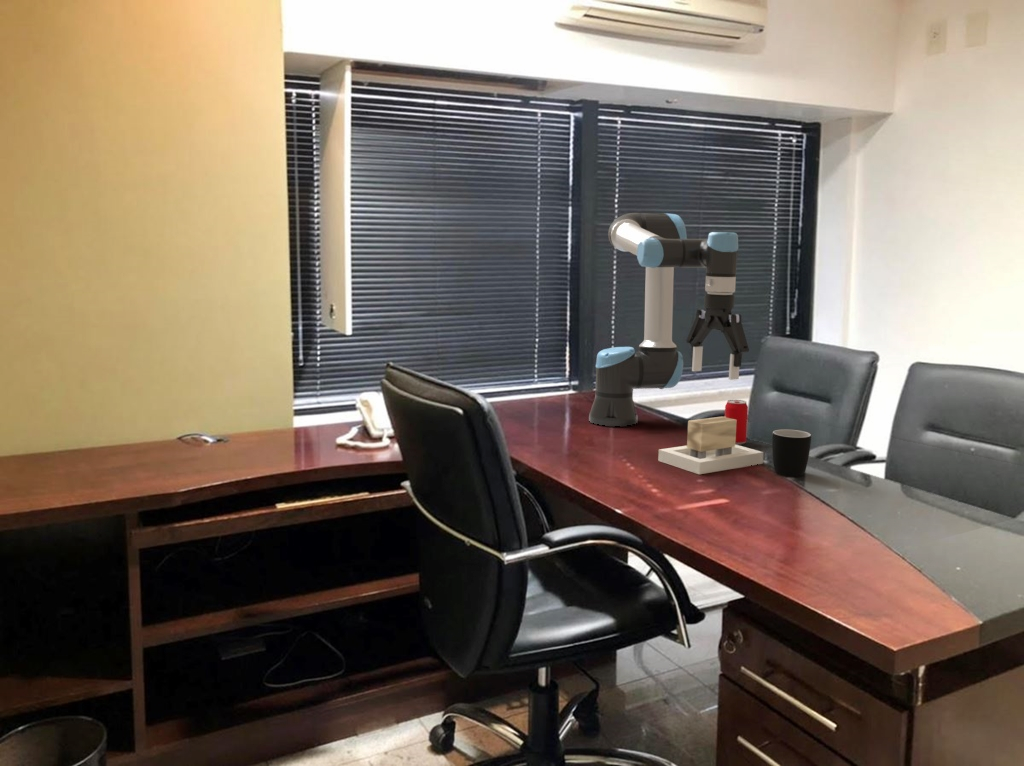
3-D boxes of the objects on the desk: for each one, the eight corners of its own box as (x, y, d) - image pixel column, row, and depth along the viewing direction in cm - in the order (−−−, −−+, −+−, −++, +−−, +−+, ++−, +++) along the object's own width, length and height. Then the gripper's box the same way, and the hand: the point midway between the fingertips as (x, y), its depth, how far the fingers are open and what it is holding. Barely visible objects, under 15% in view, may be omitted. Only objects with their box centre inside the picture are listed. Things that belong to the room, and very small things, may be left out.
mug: (815, 477, 206) (818, 436, 204) (780, 479, 204) (783, 437, 203) (791, 465, 217) (794, 426, 216) (758, 466, 216) (760, 427, 214)
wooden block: (686, 447, 218) (688, 420, 216) (720, 442, 224) (722, 416, 223) (700, 451, 213) (702, 424, 212) (735, 446, 220) (736, 419, 218)
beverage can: (744, 440, 244) (746, 399, 242) (747, 445, 238) (750, 403, 236) (721, 440, 245) (724, 398, 243) (725, 445, 239) (727, 402, 237)
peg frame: (658, 460, 220) (658, 445, 219) (720, 451, 231) (721, 436, 230) (699, 474, 207) (699, 458, 206) (762, 463, 218) (763, 448, 218)
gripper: (675, 289, 227) (671, 368, 230) (745, 297, 205) (739, 384, 209) (697, 289, 230) (692, 366, 234) (767, 296, 209) (761, 381, 213)
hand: (714, 375), depth 222 cm, fingers open, 13 cm apart
